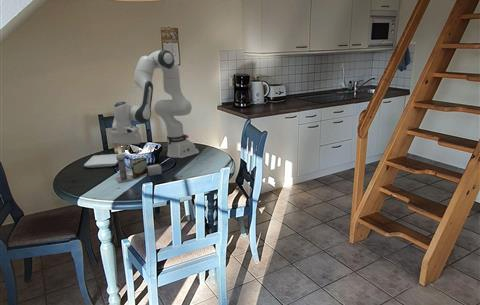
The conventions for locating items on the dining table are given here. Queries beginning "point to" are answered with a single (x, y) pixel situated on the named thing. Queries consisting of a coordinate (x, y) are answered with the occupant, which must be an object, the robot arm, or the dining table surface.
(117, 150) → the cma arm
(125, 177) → the rack post
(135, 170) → the food container
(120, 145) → the fruit juice
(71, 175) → the dining table surface
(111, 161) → the salad plate
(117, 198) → the dining table surface
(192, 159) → the dining table surface
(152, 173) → the block
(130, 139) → the robot arm
